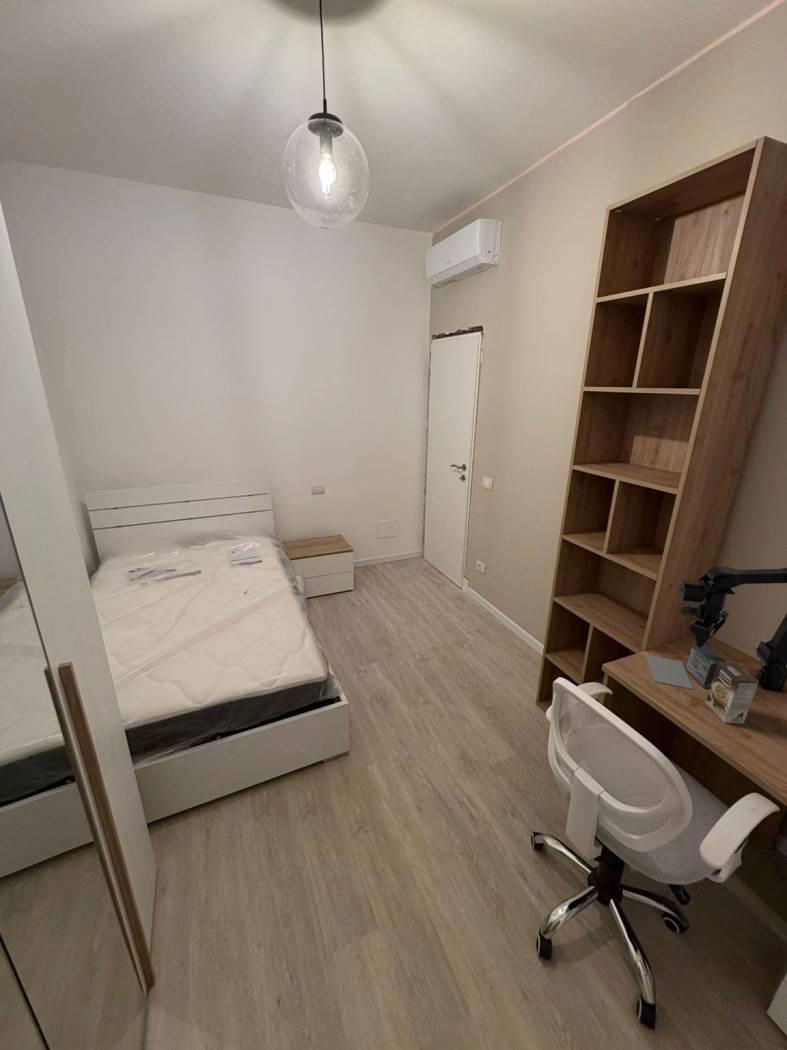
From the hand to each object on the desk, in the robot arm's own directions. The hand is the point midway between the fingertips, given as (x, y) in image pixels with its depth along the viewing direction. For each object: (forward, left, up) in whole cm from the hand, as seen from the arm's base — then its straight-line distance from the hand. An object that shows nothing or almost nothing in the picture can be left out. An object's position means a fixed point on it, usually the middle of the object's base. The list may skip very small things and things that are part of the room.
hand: (704, 642), depth 148 cm
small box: (-2, +3, -13) cm, 14 cm away
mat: (+9, +3, -13) cm, 16 cm away
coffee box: (-3, +20, -13) cm, 24 cm away
